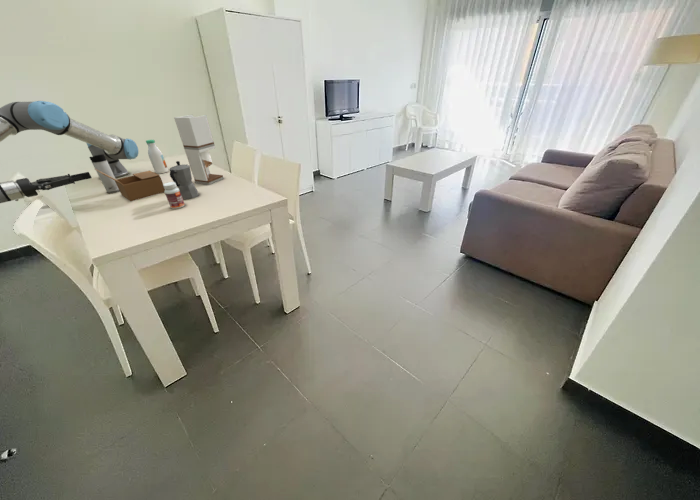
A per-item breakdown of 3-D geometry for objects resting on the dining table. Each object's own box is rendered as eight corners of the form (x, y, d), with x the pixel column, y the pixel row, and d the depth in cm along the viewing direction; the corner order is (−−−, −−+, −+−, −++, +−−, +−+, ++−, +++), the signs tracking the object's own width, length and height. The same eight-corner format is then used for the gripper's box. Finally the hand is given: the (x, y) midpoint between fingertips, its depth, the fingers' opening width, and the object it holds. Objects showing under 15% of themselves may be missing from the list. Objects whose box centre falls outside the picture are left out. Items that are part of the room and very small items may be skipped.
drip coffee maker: (209, 184, 161) (189, 117, 143) (195, 182, 165) (174, 117, 146) (223, 178, 170) (206, 115, 152) (210, 176, 174) (191, 114, 155)
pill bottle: (183, 208, 133) (174, 185, 127) (169, 209, 132) (159, 186, 126) (186, 203, 138) (178, 181, 132) (172, 204, 137) (164, 182, 131)
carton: (130, 201, 142) (122, 183, 137) (121, 195, 150) (113, 178, 145) (166, 191, 153) (159, 174, 148) (156, 186, 161) (149, 170, 156)
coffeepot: (187, 191, 152) (175, 158, 142) (204, 191, 152) (193, 157, 142) (171, 203, 139) (157, 166, 129) (190, 202, 139) (177, 166, 129)
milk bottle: (164, 173, 182) (152, 141, 171) (152, 174, 182) (139, 141, 172) (171, 170, 189) (159, 138, 178) (159, 170, 189) (147, 139, 178)
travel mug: (114, 193, 152) (95, 156, 142) (104, 193, 153) (85, 155, 143) (124, 189, 157) (107, 153, 147) (114, 189, 159) (96, 152, 148)
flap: (122, 183, 137) (122, 184, 137) (113, 178, 145) (113, 178, 145) (102, 173, 131) (102, 174, 130) (94, 168, 138) (94, 169, 138)
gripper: (24, 194, 123) (90, 180, 138) (28, 201, 116) (97, 185, 131) (12, 177, 119) (82, 164, 134) (16, 183, 112) (89, 169, 127)
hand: (90, 175), depth 133 cm, fingers closed
